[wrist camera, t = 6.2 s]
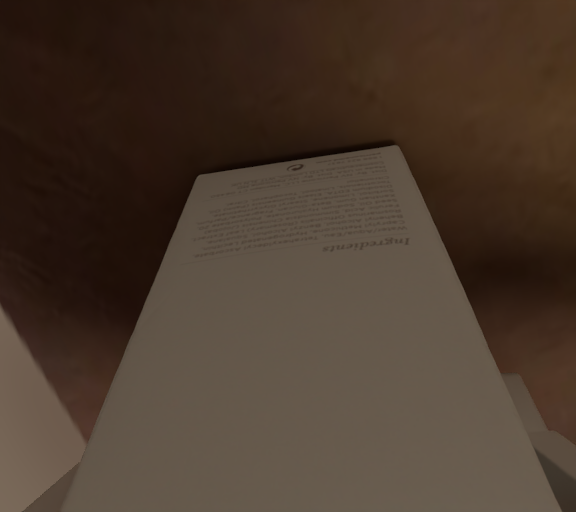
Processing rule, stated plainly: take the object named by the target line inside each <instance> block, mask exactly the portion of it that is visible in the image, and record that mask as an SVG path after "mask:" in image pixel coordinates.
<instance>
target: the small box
mask: <svg viewBox="0 0 576 512" xmlns="http://www.w3.org/2000/svg"><path fill="white" fill-rule="evenodd" d="M60 512H562V510H561V508H560V506H559V504H558V502H557V500H556V498H555V496H554V494H553V491H552V489H551V487H550V485H549V482H548V480H547V478H546V475H545V473H544V471H543V469H542V466H541V464H540V462H539V459H538V457H537V455H536V453H535V450H534V448H533V446H532V444H531V441H530V439H529V437H528V435H527V432H526V430H525V428H524V426H523V423H522V421H521V419H520V416H519V414H518V412H517V410H516V408H515V405H514V403H513V401H512V399H511V396H510V394H509V392H508V390H507V387H506V385H505V383H504V381H503V379H502V376H501V374H500V372H499V370H498V368H497V365H496V363H495V361H494V359H493V357H492V355H491V352H490V350H489V348H488V345H487V343H486V340H485V338H484V336H483V333H482V331H481V328H480V326H479V324H478V322H477V320H476V317H475V315H474V312H473V310H472V307H471V305H470V303H469V301H468V299H467V296H466V294H465V291H464V289H463V287H462V285H461V283H460V281H459V279H458V276H457V274H456V271H455V269H454V266H453V264H452V262H451V260H450V257H449V255H448V253H447V251H446V248H445V246H444V244H443V242H442V240H441V238H440V235H439V233H438V230H437V228H436V226H435V224H434V222H433V220H432V217H431V215H430V213H429V211H428V209H427V207H426V204H425V202H424V200H423V197H422V195H421V193H420V191H419V189H418V187H417V184H416V182H415V179H414V178H413V176H412V174H411V172H410V169H409V167H408V165H407V163H406V160H405V158H404V156H403V154H402V152H401V150H400V148H399V147H398V146H396V145H392V146H387V147H381V148H375V149H368V150H361V151H355V152H348V153H341V154H335V155H328V156H321V157H315V158H308V159H301V160H295V161H288V162H281V163H275V164H268V165H262V166H255V167H249V168H242V169H235V170H228V171H222V172H216V173H209V174H202V175H199V176H198V177H197V178H196V180H195V182H194V185H193V188H192V190H191V193H190V195H189V197H188V199H187V202H186V204H185V207H184V209H183V212H182V214H181V217H180V219H179V221H178V224H177V227H176V229H175V231H174V234H173V236H172V238H171V240H170V243H169V245H168V248H167V251H166V253H165V256H164V258H163V261H162V263H161V266H160V268H159V271H158V273H157V275H156V278H155V280H154V283H153V285H152V287H151V290H150V292H149V295H148V297H147V299H146V301H145V304H144V307H143V309H142V312H141V314H140V317H139V319H138V321H137V324H136V327H135V329H134V332H133V334H132V336H131V338H130V340H129V343H128V345H127V348H126V350H125V353H124V356H123V358H122V361H121V363H120V365H119V368H118V370H117V372H116V375H115V377H114V379H113V382H112V384H111V386H110V389H109V391H108V394H107V396H106V399H105V401H104V404H103V406H102V409H101V411H100V414H99V416H98V419H97V421H96V424H95V426H94V429H93V432H92V434H91V437H90V439H89V442H88V444H87V447H86V449H85V452H84V454H83V457H82V459H81V461H80V464H79V466H78V469H77V471H76V474H75V476H74V478H73V481H72V483H71V485H70V487H69V490H68V492H67V495H66V497H65V499H64V502H63V504H62V507H61V509H60Z"/></svg>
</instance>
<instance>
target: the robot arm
mask: <svg viewBox="0 0 576 512" xmlns="http://www.w3.org/2000/svg"><path fill="white" fill-rule="evenodd" d="M500 374H501V376H502V379H503V381H504V383H505V385H506V387H507V390H508V392H509V394H510V396H511V399H512V401H513V403H514V405H515V408H516V410H517V412H518V414H519V416H520V419H521V421H522V423H523V426H524V428H525V430H526V432H527V435H528V437H529V439H530V441H531V444H532V446H533V448H534V450H535V453H536V455H537V457H538V459H539V462H540V464H541V466H542V469H543V471H544V473H545V475H546V478H547V480H548V482H549V485H550V487H551V489H552V491H553V494H554V496H555V498H556V500H557V502H558V504H559V506H560V508H561V510H562V512H576V445H574V444H573V443H571V442H570V441H569V440H567V439H566V438H565V437H563V436H562V435H560V434H559V433H558V432H556V431H548V429H547V427H546V425H545V423H544V421H543V419H542V417H541V415H540V414H539V412H538V410H537V408H536V406H535V404H534V402H533V400H532V398H531V396H530V394H529V392H528V390H527V388H526V386H525V384H524V382H523V380H522V378H521V376H520V375H519V374H517V373H500ZM79 464H80V462H79V463H78V464H77V465H75V466H74V467H73V468H72V469H71V470H70V471H69V472H67V473H66V474H65V475H64V476H63V477H62V478H61V479H59V480H58V481H57V482H56V483H55V484H54V485H53V486H51V487H50V488H49V489H48V490H47V491H46V492H44V493H43V494H42V495H41V496H40V497H39V498H37V499H36V500H35V501H34V502H33V503H32V504H31V505H29V506H28V507H27V508H26V509H25V510H24V511H23V512H60V509H61V507H62V504H63V502H64V499H65V497H66V495H67V492H68V490H69V487H70V485H71V483H72V481H73V478H74V476H75V474H76V471H77V469H78V466H79Z"/></svg>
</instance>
